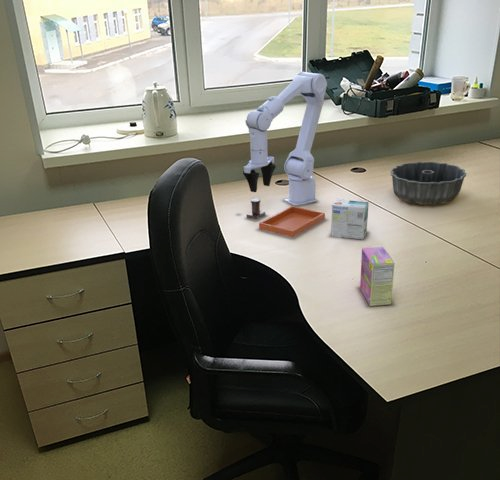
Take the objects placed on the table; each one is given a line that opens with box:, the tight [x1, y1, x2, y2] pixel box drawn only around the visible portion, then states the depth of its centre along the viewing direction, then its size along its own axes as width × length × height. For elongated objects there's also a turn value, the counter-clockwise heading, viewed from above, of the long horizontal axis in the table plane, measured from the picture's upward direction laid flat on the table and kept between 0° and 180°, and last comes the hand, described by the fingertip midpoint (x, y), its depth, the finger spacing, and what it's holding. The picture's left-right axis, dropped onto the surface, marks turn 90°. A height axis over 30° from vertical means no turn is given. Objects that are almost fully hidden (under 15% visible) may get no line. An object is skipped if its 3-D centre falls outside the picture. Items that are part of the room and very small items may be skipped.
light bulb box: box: [330, 198, 370, 240], centre depth 187 cm, size 11×7×11 cm, turn 71°
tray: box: [258, 205, 326, 238], centre depth 198 cm, size 20×14×2 cm
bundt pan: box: [390, 161, 467, 206], centre depth 214 cm, size 26×26×10 cm
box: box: [359, 246, 396, 307], centre depth 150 cm, size 10×6×12 cm, turn 5°
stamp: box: [246, 198, 266, 220], centre depth 204 cm, size 6×4×6 cm
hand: (260, 188), depth 203 cm, fingers open, 7 cm apart
